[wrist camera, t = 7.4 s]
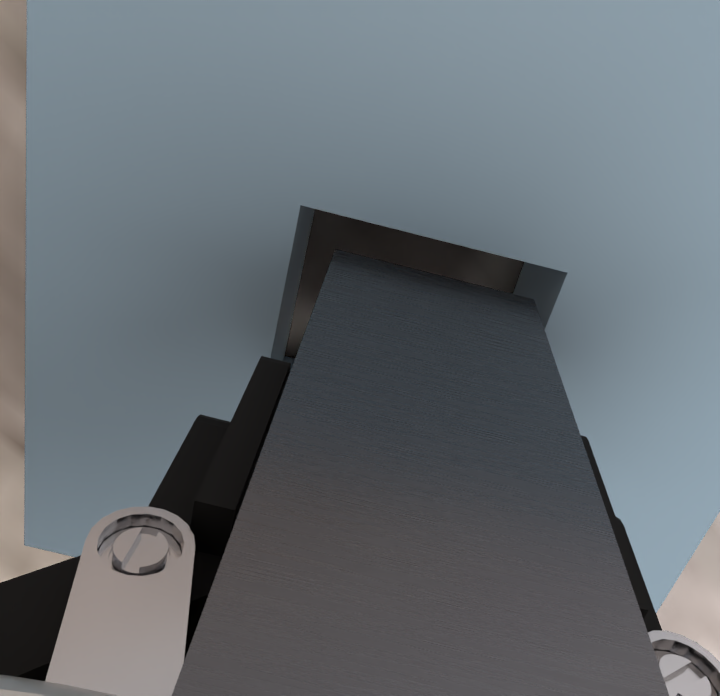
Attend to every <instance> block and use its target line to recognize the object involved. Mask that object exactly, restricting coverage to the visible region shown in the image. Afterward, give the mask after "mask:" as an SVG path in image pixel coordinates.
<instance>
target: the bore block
mask: <svg viewBox="0 0 720 696" xmlns="http://www.w3.org/2000/svg"><path fill="white" fill-rule="evenodd" d="M315 209H318V210H322V211H326V212H330V213H333V214H337V215H341V216H345V217H349V218H353V219H357V220H361V221H365V222H369V223H373V224H377V225H381V226H385V227H389V228H393V229H397V230H401V231H405V232H409V233H412V234H416V235H420V236H424V237H428V238H432V239H436V240H440V241H444V242H448V243H452V244H456V245H460V246H464V247H468V248H472V249H476V250H480V251H484V252H488V253H492V254H495V255H499V256H503V257H507V258H511V259H515V260H519V261H523V262H524V265H523V268H522V270H521V273H520V276H519V278H518V281H517V284H516V287H515V289H514V292H513V294H515V295H519V296H523V297H527V298H531V299H534V300H535V303H536V306H537V309H538V312H539V315H540V318H541V321H542V324H543V327H544V330H545V333H546V336H547V338H548V341H549V344H550V347H551V350H552V353H553V356H554V359H555V362H556V365H557V368H558V371H559V374H560V377H561V380H562V382H563V385H564V388H565V391H566V394H567V397H568V400H569V403H570V406H571V409H572V412H573V415H574V418H575V421H576V423H577V426H578V429H579V432H580V435H582V436H585V437H587V439H588V440H589V443H590V446H591V449H592V451H593V454H594V457H595V460H596V463H597V466H598V468H599V471H600V474H601V477H602V480H603V483H604V485H605V488H606V491H607V494H608V497H609V500H610V502H611V505H612V508H613V511H614V514H615V516H616V517H618V518H619V519H621V521H622V523H623V525H624V527H625V530H626V533H627V535H628V538H629V541H630V544H631V546H632V549H633V552H634V555H635V557H636V560H637V563H638V566H639V568H640V571H641V574H642V577H643V579H644V582H645V585H646V588H647V590H648V593H649V596H650V599H651V601H652V604H653V607H654V610H655V612H656V613H657V611H658V609H659V608H660V606H661V604H662V603H663V601H664V600H665V598H666V596H667V595H668V593H669V592H670V590H671V588H672V587H673V585H674V584H675V582H676V580H677V579H678V577H679V576H680V574H681V572H682V571H683V569H684V568H685V566H686V564H687V563H688V561H689V560H690V558H691V556H692V555H693V553H694V552H695V550H696V548H697V547H698V545H699V544H700V542H701V540H702V539H703V537H704V536H705V534H706V532H707V531H708V529H709V528H710V526H711V524H712V523H713V521H714V520H715V518H716V516H717V515H718V513H719V512H720V0H27V71H26V293H25V515H24V545H25V546H30V547H34V548H38V549H43V550H47V551H51V552H56V553H60V554H64V555H68V556H73V557H78V556H81V554H82V550H83V547H84V543H85V540H86V538H87V536H88V534H89V532H90V530H91V528H92V527H93V526H94V525H95V524H96V523H97V522H98V521H99V520H101V519H102V518H103V517H105V516H107V515H109V514H111V513H113V512H115V511H117V510H121V509H125V508H129V507H146V506H148V505H149V504H150V502H151V500H152V498H153V496H154V495H155V493H156V491H157V489H158V487H159V485H160V484H161V482H162V480H163V478H164V476H165V474H166V473H167V471H168V469H169V467H170V465H171V463H172V462H173V460H174V458H175V456H176V454H177V452H178V451H179V449H180V447H181V445H182V443H183V441H184V440H185V438H186V436H187V434H188V432H189V430H190V429H191V427H192V425H193V423H194V421H195V420H196V418H197V417H198V416H199V415H200V414H201V415H205V416H209V417H213V418H217V419H221V420H225V421H229V422H231V420H232V418H233V416H234V413H235V411H236V409H237V407H238V405H239V403H240V400H241V398H242V396H243V394H244V392H245V390H246V387H247V385H248V383H249V381H250V379H251V377H252V375H253V372H254V370H255V368H256V366H257V364H258V362H259V359H260V357H261V356H264V357H268V358H272V359H276V360H280V361H285V362H289V363H291V367H290V371H291V369H292V366H293V363H294V361H295V359H294V358H290V357H286V356H285V351H286V346H287V341H288V337H289V332H290V327H291V322H292V317H293V313H294V308H295V303H296V298H297V293H298V288H299V284H300V279H301V274H302V269H303V264H304V260H305V255H306V250H307V245H308V240H309V235H310V231H311V226H312V221H313V216H314V211H315Z"/></svg>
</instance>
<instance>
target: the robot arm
mask: <svg viewBox="0 0 720 696" xmlns="http://www.w3.org/2000/svg"><path fill="white" fill-rule="evenodd" d="M290 367H291V363H289V362H285V361H280V360H276V359H272V358H268V357H264V356H261V357H260V359H259V362H258V364H257V366H256V368H255V370H254V372H253V375H252V377H251V379H250V381H249V383H248V385H247V387H246V390H245V392H244V394H243V396H242V398H241V400H240V403H239V405H238V407H237V409H236V411H235V413H234V416H233V418H232V420H231V422H229V421H225V420H221V419H217V418H213V417H209V416H205V415H201V414H200V415H199V416H198V417H197V418H196V420H195V421H194V423H193V425H192V427H191V429H190V430H189V432H188V434H187V436H186V438H185V440H184V441H183V443H182V445H181V447H180V449H179V451H178V452H177V454H176V456H175V458H174V460H173V462H172V463H171V465H170V467H169V469H168V471H167V473H166V474H165V476H164V478H163V480H162V482H161V484H160V485H159V487H158V489H157V491H156V493H155V495H154V496H153V498H152V500H151V502H150V504H149V505H148V506H146V507H129V508H125V509H121V510H117V511H115V512H113V513H111V514H109V515H107V516H105V517H103V518H102V519H101V520H99V521H98V522H97V523H96V524H95V525H94V526H93V527H92V528H91V530H90V532H89V534H88V536H87V538H86V540H85V543H84V547H83V550H82V554H81V556H78V557H75V558H72V559H69V560H66V561H63V562H60V563H57V564H54V565H51V566H48V567H46V568H43V569H40V570H37V571H34V572H31V573H28V574H25V575H22V576H19V577H16V578H13V579H11V580H8V581H5V582H2V583H0V696H172V693H173V691H174V688H175V685H176V682H177V680H178V677H179V674H180V671H181V669H182V666H183V663H184V661H185V658H186V655H187V652H188V650H189V647H190V644H191V641H192V639H193V636H194V633H195V631H196V628H197V625H198V622H199V620H200V617H201V614H202V611H203V609H204V606H205V603H206V601H207V598H208V595H209V592H210V590H211V587H212V584H213V581H214V579H215V576H216V573H217V571H218V568H219V565H220V562H221V560H222V557H223V554H224V551H225V549H226V546H227V543H228V541H229V538H230V535H231V532H232V530H233V527H234V524H235V521H236V519H237V516H238V513H239V511H240V508H241V505H242V502H243V500H244V497H245V494H246V491H247V489H248V486H249V483H250V481H251V478H252V475H253V472H254V470H255V467H256V464H257V461H258V459H259V456H260V453H261V451H262V448H263V445H264V442H265V440H266V437H267V434H268V431H269V429H270V426H271V423H272V421H273V418H274V415H275V412H276V410H277V407H278V404H279V401H280V399H281V396H282V393H283V391H284V388H285V385H286V382H287V380H288V377H289V374H290ZM581 438H582V441H583V444H584V447H585V450H586V453H587V456H588V459H589V462H590V465H591V467H592V470H593V473H594V476H595V479H596V482H597V485H598V488H599V491H600V494H601V497H602V500H603V503H604V506H605V509H606V511H607V514H608V517H609V520H610V523H611V526H612V529H613V532H614V535H615V538H616V541H617V544H618V547H619V550H620V552H621V555H622V558H623V561H624V564H625V567H626V570H627V573H628V576H629V579H630V582H631V585H632V588H633V591H634V594H635V596H636V599H637V602H638V605H639V608H640V611H641V614H642V617H643V620H644V623H645V626H646V629H647V632H648V635H649V637H650V640H651V643H652V646H653V649H654V652H655V655H656V658H657V661H658V664H659V667H660V670H661V673H662V676H663V679H664V681H665V684H666V687H667V690H668V693H669V696H720V662H719V661H718V660H717V659H716V658H715V657H714V656H713V655H712V654H711V653H710V652H708V651H707V650H706V649H704V648H703V647H702V646H700V645H699V644H698V643H696V642H694V641H692V640H690V639H688V638H686V637H684V636H682V635H680V634H676V633H673V632H669V631H662V629H661V626H660V623H659V621H658V618H657V615H656V612H655V610H654V607H653V604H652V601H651V599H650V596H649V593H648V590H647V588H646V585H645V582H644V579H643V577H642V574H641V571H640V568H639V566H638V563H637V560H636V557H635V555H634V552H633V549H632V546H631V544H630V541H629V538H628V535H627V533H626V530H625V527H624V525H623V523H622V521H621V519H619V518H618V517H616V516H615V514H614V511H613V508H612V505H611V502H610V500H609V497H608V494H607V491H606V488H605V485H604V483H603V480H602V477H601V474H600V471H599V468H598V466H597V463H596V460H595V457H594V454H593V451H592V449H591V446H590V443H589V440H588V439H587V437H585V436H582V435H581Z"/></svg>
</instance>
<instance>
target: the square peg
mask: <svg viewBox="0 0 720 696" xmlns="http://www.w3.org/2000/svg"><path fill="white" fill-rule="evenodd" d="M172 696H669V693H668V690H667V687H666V684H665V681H664V679H663V676H662V673H661V670H660V667H659V664H658V661H657V658H656V655H655V652H654V649H653V646H652V643H651V640H650V637H649V635H648V632H647V629H646V626H645V623H644V620H643V617H642V614H641V611H640V608H639V605H638V602H637V599H636V596H635V594H634V591H633V588H632V585H631V582H630V579H629V576H628V573H627V570H626V567H625V564H624V561H623V558H622V555H621V552H620V550H619V547H618V544H617V541H616V538H615V535H614V532H613V529H612V526H611V523H610V520H609V517H608V514H607V511H606V509H605V506H604V503H603V500H602V497H601V494H600V491H599V488H598V485H597V482H596V479H595V476H594V473H593V470H592V467H591V465H590V462H589V459H588V456H587V453H586V450H585V447H584V444H583V441H582V438H581V435H580V432H579V429H578V426H577V423H576V421H575V418H574V415H573V412H572V409H571V406H570V403H569V400H568V397H567V394H566V391H565V388H564V385H563V382H562V380H561V377H560V374H559V371H558V368H557V365H556V362H555V359H554V356H553V353H552V350H551V347H550V344H549V341H548V338H547V336H546V333H545V330H544V327H543V324H542V321H541V318H540V315H539V312H538V309H537V306H536V303H535V300H534V299H531V298H527V297H523V296H519V295H515V294H511V293H507V292H503V291H500V290H496V289H492V288H488V287H484V286H480V285H476V284H472V283H468V282H464V281H460V280H456V279H452V278H448V277H444V276H440V275H436V274H432V273H428V272H424V271H420V270H417V269H413V268H409V267H405V266H401V265H397V264H393V263H389V262H385V261H381V260H377V259H373V258H369V257H365V256H361V255H357V254H353V253H349V252H345V251H341V250H337V249H335V251H334V254H333V257H332V260H331V262H330V265H329V268H328V271H327V273H326V276H325V279H324V281H323V284H322V287H321V290H320V292H319V295H318V298H317V301H316V303H315V306H314V309H313V311H312V314H311V317H310V320H309V322H308V325H307V328H306V331H305V333H304V336H303V339H302V341H301V344H300V347H299V350H298V352H297V355H296V358H295V361H294V363H293V366H292V369H291V371H290V374H289V377H288V380H287V382H286V385H285V388H284V391H283V393H282V396H281V399H280V401H279V404H278V407H277V410H276V412H275V415H274V418H273V421H272V423H271V426H270V429H269V431H268V434H267V437H266V440H265V442H264V445H263V448H262V451H261V453H260V456H259V459H258V461H257V464H256V467H255V470H254V472H253V475H252V478H251V481H250V483H249V486H248V489H247V491H246V494H245V497H244V500H243V502H242V505H241V508H240V511H239V513H238V516H237V519H236V521H235V524H234V527H233V530H232V532H231V535H230V538H229V541H228V543H227V546H226V549H225V551H224V554H223V557H222V560H221V562H220V565H219V568H218V571H217V573H216V576H215V579H214V581H213V584H212V587H211V590H210V592H209V595H208V598H207V601H206V603H205V606H204V609H203V611H202V614H201V617H200V620H199V622H198V625H197V628H196V631H195V633H194V636H193V639H192V641H191V644H190V647H189V650H188V652H187V655H186V658H185V661H184V663H183V666H182V669H181V671H180V674H179V677H178V680H177V682H176V685H175V688H174V691H173V693H172Z"/></svg>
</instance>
